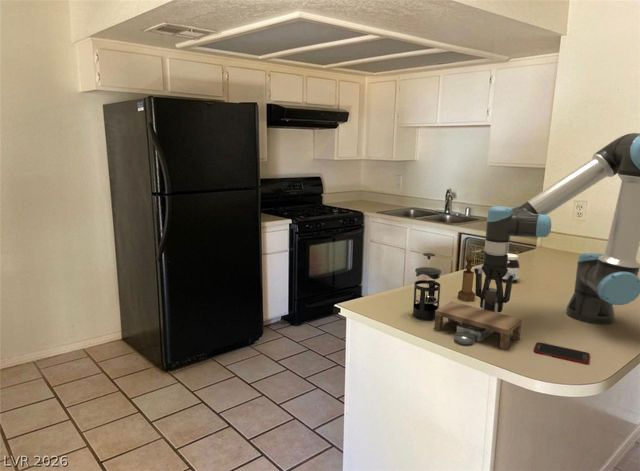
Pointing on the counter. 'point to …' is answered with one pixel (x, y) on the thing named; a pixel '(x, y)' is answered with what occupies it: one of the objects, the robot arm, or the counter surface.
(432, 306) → the french press
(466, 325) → the scraper
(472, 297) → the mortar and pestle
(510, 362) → the counter surface
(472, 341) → the steel token
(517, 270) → the spread jar
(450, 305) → the low bench
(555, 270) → the counter surface
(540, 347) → the cell phone
